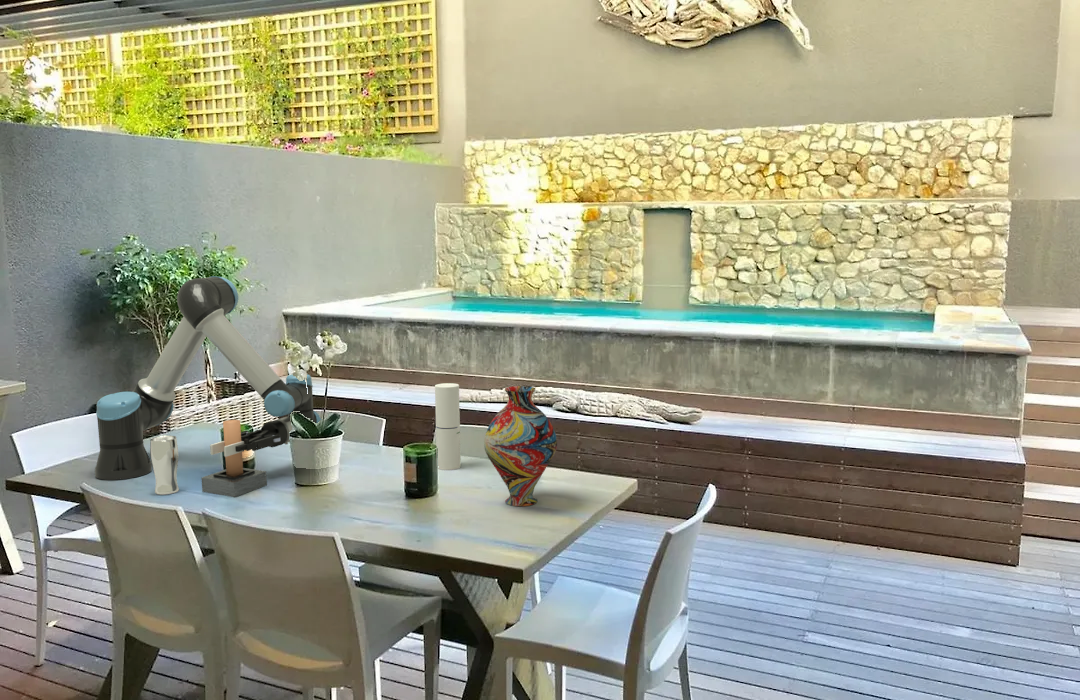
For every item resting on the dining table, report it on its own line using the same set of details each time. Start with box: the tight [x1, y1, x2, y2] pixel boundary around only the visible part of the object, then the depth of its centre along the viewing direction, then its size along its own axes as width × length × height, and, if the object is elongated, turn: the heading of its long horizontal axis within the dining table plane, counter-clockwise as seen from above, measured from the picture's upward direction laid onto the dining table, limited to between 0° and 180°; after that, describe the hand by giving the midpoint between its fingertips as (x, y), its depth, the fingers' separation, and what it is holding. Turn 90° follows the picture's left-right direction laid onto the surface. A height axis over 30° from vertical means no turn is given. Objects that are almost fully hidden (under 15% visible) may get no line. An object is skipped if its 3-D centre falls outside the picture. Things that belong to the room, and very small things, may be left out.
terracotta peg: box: [222, 419, 244, 477], centre depth 234 cm, size 4×4×16 cm
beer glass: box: [149, 435, 180, 496], centre depth 232 cm, size 7×7×15 cm
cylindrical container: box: [434, 382, 462, 471], centre depth 254 cm, size 7×7×25 cm
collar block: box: [201, 467, 268, 498], centre depth 235 cm, size 12×12×4 cm
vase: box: [483, 385, 558, 507], centre depth 220 cm, size 19×19×30 cm
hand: (218, 450), depth 229 cm, fingers closed on terracotta peg, 4 cm apart
